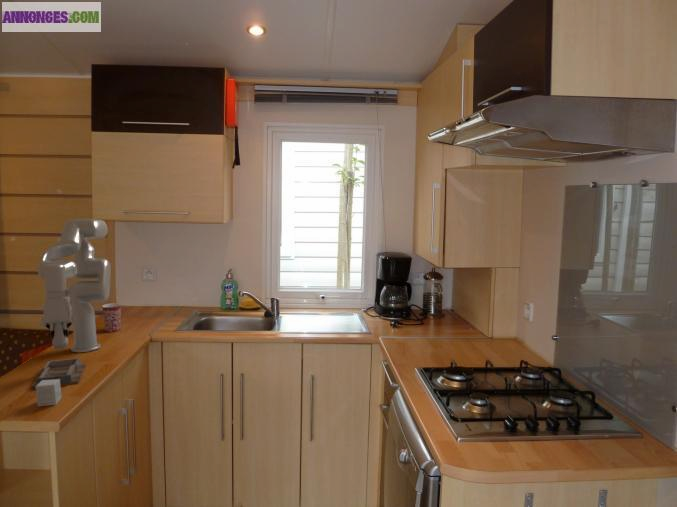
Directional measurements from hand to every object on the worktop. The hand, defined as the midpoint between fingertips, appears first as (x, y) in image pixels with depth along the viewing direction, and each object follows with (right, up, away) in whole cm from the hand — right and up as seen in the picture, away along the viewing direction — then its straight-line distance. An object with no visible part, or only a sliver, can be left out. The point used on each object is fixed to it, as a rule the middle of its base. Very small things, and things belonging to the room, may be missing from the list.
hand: (60, 338), depth 219 cm
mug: (-5, -6, +66) cm, 66 cm away
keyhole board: (+2, -14, -4) cm, 15 cm away
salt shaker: (0, -4, 0) cm, 4 cm away
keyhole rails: (+2, -14, -4) cm, 15 cm away
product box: (+12, -18, -30) cm, 37 cm away
